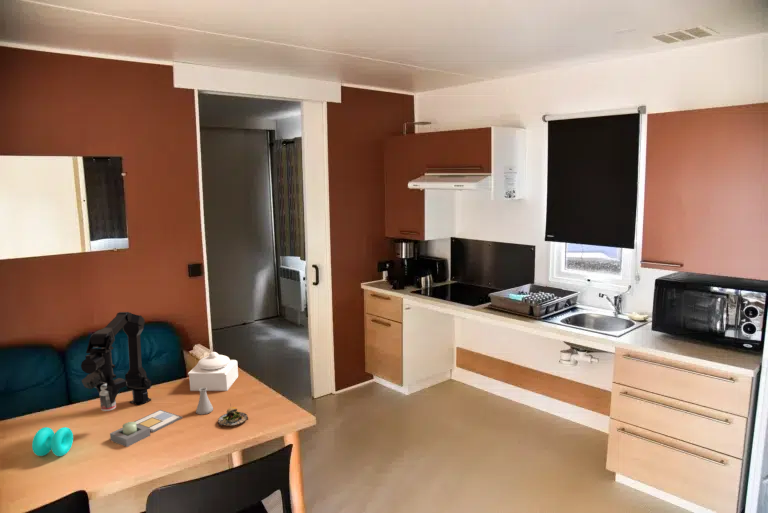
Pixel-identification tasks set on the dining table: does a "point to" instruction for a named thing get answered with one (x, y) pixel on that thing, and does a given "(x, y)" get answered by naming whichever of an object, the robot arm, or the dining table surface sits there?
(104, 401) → the pill bottle
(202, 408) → the flask
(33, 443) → the donuts
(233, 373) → the butter dish
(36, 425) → the dining table surface
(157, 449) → the dining table surface
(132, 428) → the button
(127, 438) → the button housing
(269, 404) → the dining table surface
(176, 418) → the colouring board
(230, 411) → the plate of food
